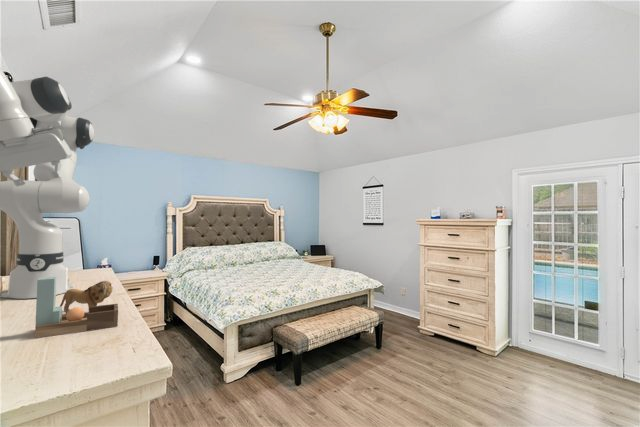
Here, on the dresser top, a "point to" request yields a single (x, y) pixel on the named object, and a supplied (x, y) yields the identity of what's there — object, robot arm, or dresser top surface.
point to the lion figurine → (88, 295)
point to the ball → (75, 314)
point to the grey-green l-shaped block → (47, 302)
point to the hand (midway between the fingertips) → (40, 181)
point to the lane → (61, 327)
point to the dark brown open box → (102, 317)
